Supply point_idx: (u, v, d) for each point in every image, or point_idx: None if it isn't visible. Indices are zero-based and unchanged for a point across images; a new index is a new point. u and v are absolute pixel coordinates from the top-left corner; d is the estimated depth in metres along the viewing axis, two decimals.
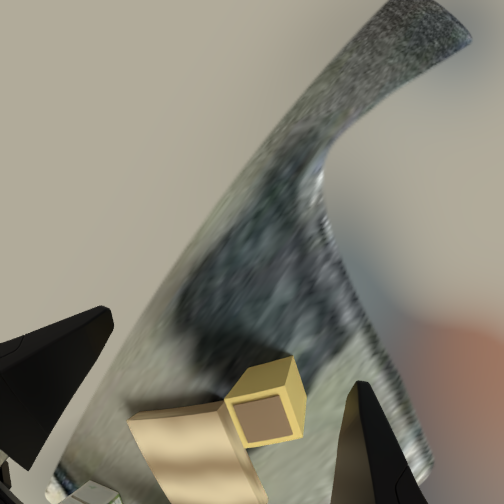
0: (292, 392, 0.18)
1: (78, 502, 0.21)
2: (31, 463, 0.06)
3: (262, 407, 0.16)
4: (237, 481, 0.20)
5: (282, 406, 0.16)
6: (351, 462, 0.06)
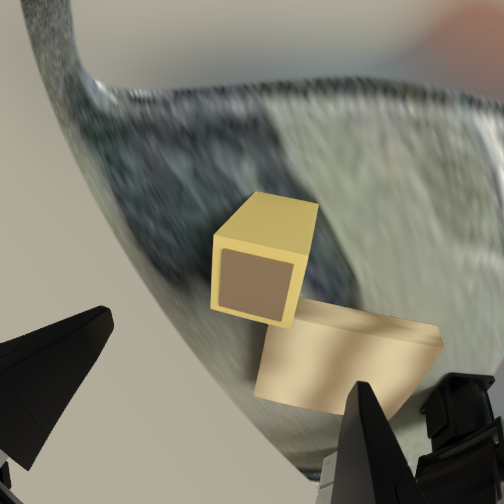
0: (251, 226, 0.14)
1: (326, 488, 0.26)
2: (31, 463, 0.06)
3: (232, 277, 0.13)
4: (379, 347, 0.18)
5: (241, 253, 0.12)
6: (351, 462, 0.06)
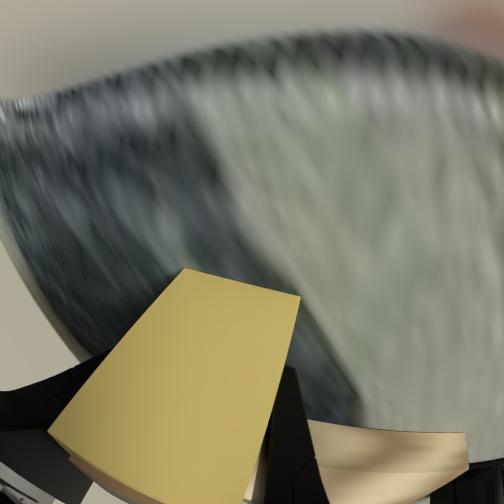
0: (129, 404, 0.05)
1: None
2: (80, 501, 0.05)
3: (105, 487, 0.04)
4: (381, 479, 0.10)
5: (100, 475, 0.04)
6: (264, 447, 0.06)
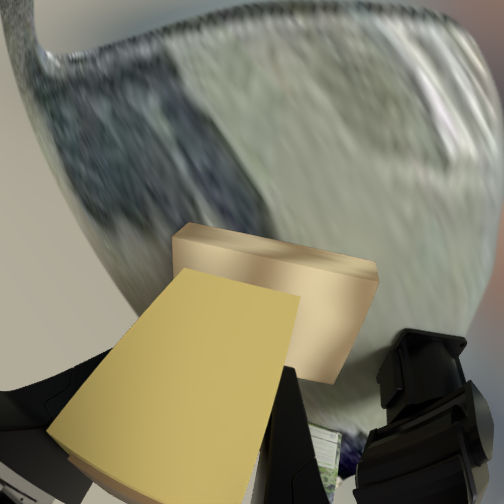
0: (128, 404, 0.05)
1: None
2: (80, 501, 0.05)
3: (104, 487, 0.04)
4: (293, 278, 0.17)
5: (100, 475, 0.04)
6: (264, 447, 0.06)
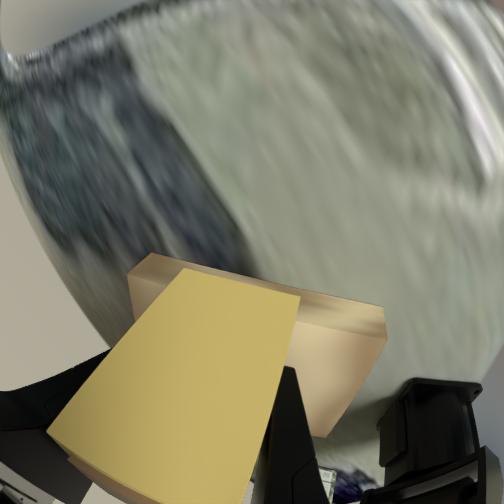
0: (128, 404, 0.05)
1: None
2: (80, 501, 0.05)
3: (104, 487, 0.04)
4: None
5: (99, 476, 0.04)
6: (264, 447, 0.06)
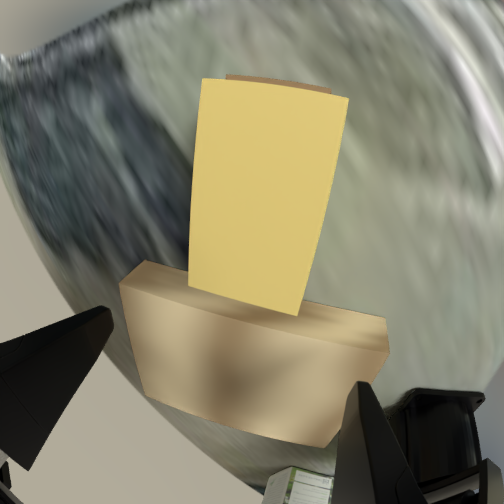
0: None
1: None
2: (31, 463, 0.06)
3: None
4: (273, 346, 0.12)
5: None
6: (351, 462, 0.06)
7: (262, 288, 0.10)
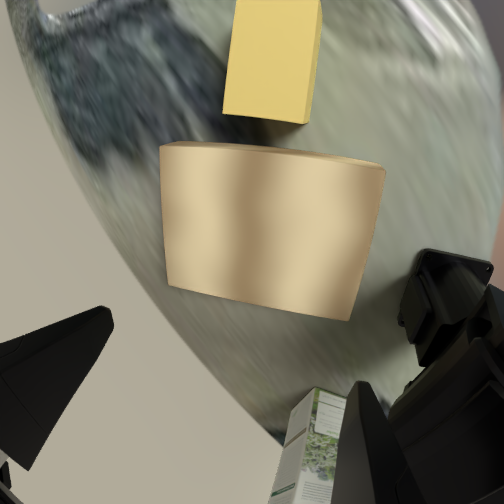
0: None
1: (290, 445, 0.23)
2: (31, 463, 0.06)
3: None
4: (290, 173, 0.15)
5: None
6: (351, 462, 0.06)
7: (277, 104, 0.13)
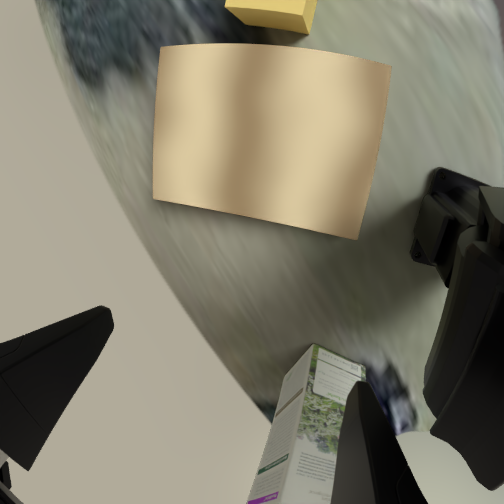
0: None
1: (282, 412, 0.20)
2: (31, 463, 0.06)
3: None
4: (292, 63, 0.13)
5: None
6: (351, 462, 0.06)
7: None
